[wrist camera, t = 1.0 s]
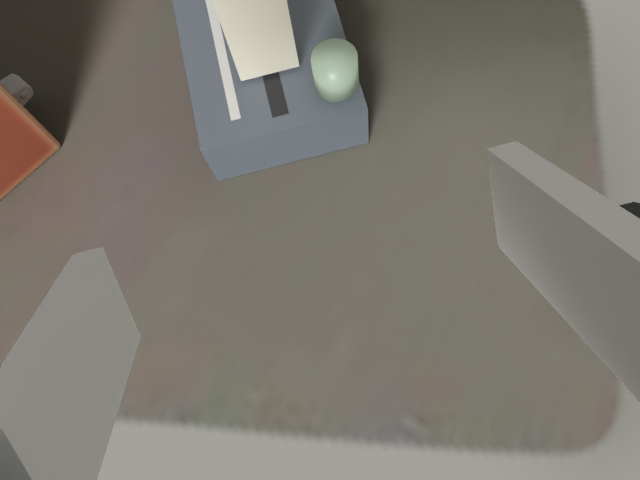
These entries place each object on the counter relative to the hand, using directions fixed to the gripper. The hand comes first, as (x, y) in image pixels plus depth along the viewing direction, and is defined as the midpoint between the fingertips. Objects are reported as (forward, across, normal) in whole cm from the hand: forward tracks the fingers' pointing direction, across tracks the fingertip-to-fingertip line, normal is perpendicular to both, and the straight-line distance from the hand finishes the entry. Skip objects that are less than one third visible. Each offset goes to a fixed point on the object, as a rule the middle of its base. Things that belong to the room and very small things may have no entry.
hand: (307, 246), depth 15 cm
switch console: (+30, 0, +2) cm, 30 cm away
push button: (+22, +4, 0) cm, 22 cm away
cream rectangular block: (+24, 0, +2) cm, 24 cm away
